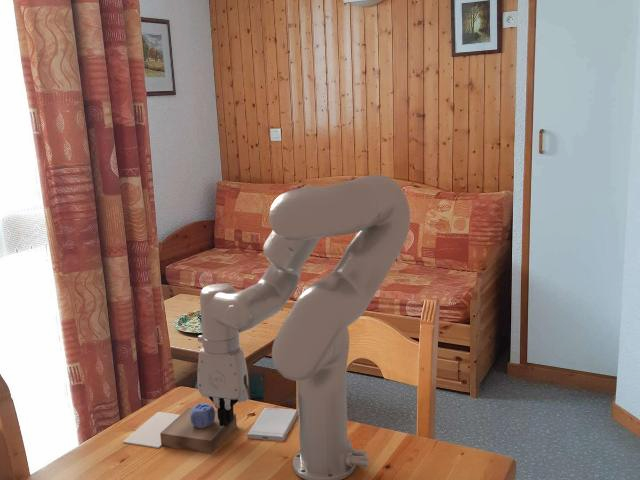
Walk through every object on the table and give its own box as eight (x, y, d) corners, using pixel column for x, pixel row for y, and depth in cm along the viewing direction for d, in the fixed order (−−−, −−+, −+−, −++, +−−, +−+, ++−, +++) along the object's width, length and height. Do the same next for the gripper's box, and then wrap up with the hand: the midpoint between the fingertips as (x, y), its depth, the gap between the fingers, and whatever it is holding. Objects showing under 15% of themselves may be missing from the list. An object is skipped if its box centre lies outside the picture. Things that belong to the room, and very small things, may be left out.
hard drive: (264, 407, 151) (246, 433, 139) (297, 409, 149) (283, 436, 137) (264, 413, 151) (247, 440, 139) (298, 416, 149) (283, 443, 137)
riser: (236, 426, 144) (235, 413, 144) (211, 453, 133) (210, 440, 132) (189, 419, 148) (188, 407, 147) (161, 446, 137) (160, 433, 136)
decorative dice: (199, 418, 142) (198, 402, 141) (215, 420, 141) (214, 403, 140) (191, 427, 138) (189, 410, 137) (207, 429, 137) (206, 412, 136)
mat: (191, 417, 149) (191, 416, 149) (158, 448, 136) (158, 447, 136) (158, 412, 152) (157, 411, 152) (122, 442, 139) (122, 441, 139)
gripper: (180, 346, 133) (186, 427, 137) (246, 353, 128) (250, 437, 132) (198, 333, 140) (203, 411, 143) (261, 340, 135) (265, 419, 139)
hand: (226, 423), depth 138 cm, fingers closed
